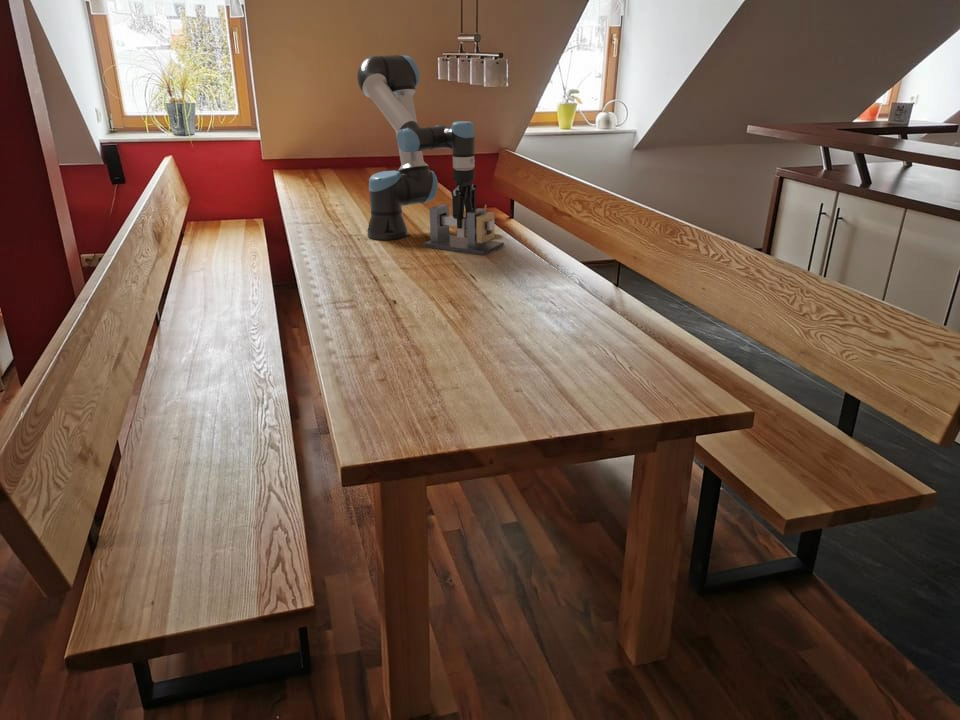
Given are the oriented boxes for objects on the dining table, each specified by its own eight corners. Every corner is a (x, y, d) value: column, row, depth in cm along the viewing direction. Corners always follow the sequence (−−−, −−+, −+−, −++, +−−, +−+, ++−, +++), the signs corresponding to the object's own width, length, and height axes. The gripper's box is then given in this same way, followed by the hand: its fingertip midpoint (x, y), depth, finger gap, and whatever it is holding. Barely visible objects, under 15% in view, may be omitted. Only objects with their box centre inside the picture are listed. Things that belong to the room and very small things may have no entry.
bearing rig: (423, 246, 270) (422, 209, 264) (444, 238, 281) (443, 202, 276) (484, 255, 258) (484, 216, 253) (503, 246, 269) (503, 208, 264)
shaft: (430, 225, 271) (430, 213, 269) (437, 223, 274) (437, 211, 273) (488, 232, 260) (488, 220, 258) (494, 230, 263) (494, 217, 261)
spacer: (476, 242, 261) (476, 216, 257) (489, 237, 268) (489, 211, 264) (481, 243, 260) (481, 217, 256) (494, 237, 267) (494, 212, 264)
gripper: (459, 173, 250) (461, 242, 259) (485, 165, 264) (486, 231, 273) (440, 171, 253) (442, 239, 262) (467, 164, 267) (468, 229, 276)
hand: (464, 235), depth 268 cm, fingers closed on shaft, 4 cm apart
